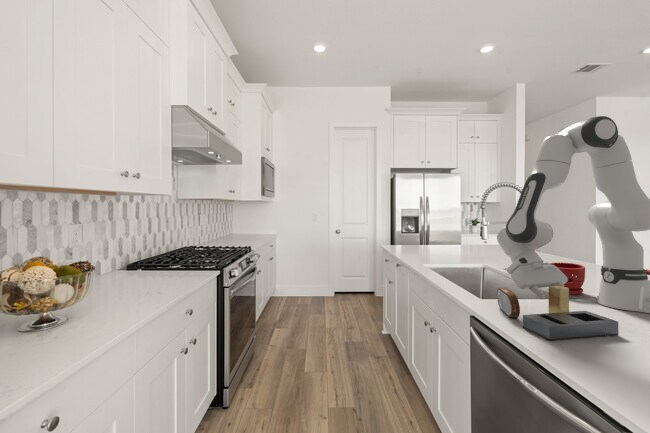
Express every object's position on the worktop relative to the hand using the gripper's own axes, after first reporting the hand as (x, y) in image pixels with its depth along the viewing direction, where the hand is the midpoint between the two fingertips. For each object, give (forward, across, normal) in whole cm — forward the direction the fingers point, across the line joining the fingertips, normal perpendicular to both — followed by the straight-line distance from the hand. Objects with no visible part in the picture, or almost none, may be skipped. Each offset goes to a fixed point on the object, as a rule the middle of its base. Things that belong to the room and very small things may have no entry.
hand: (555, 297), depth 108 cm
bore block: (+13, +9, +3) cm, 16 cm away
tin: (0, +12, -10) cm, 16 cm away
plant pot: (-10, -33, -19) cm, 39 cm away
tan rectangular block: (+5, -1, -4) cm, 7 cm away
